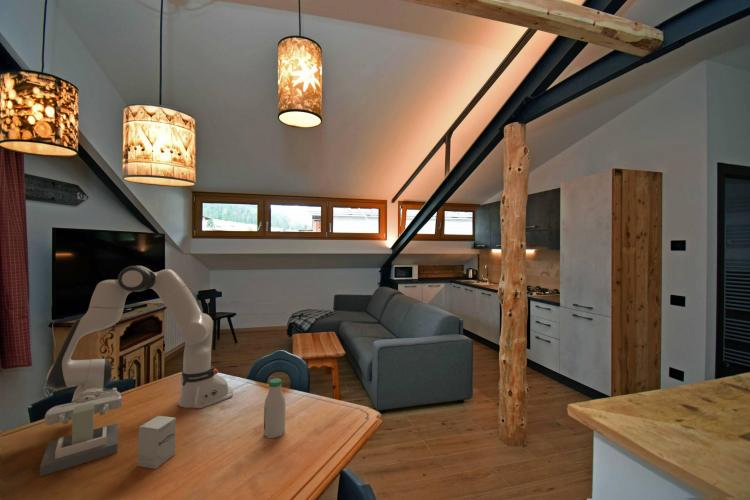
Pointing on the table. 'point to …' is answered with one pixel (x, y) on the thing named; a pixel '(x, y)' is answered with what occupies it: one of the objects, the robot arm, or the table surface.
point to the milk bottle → (274, 410)
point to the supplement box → (156, 441)
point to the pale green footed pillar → (83, 423)
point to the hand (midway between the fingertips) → (84, 417)
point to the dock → (78, 450)
